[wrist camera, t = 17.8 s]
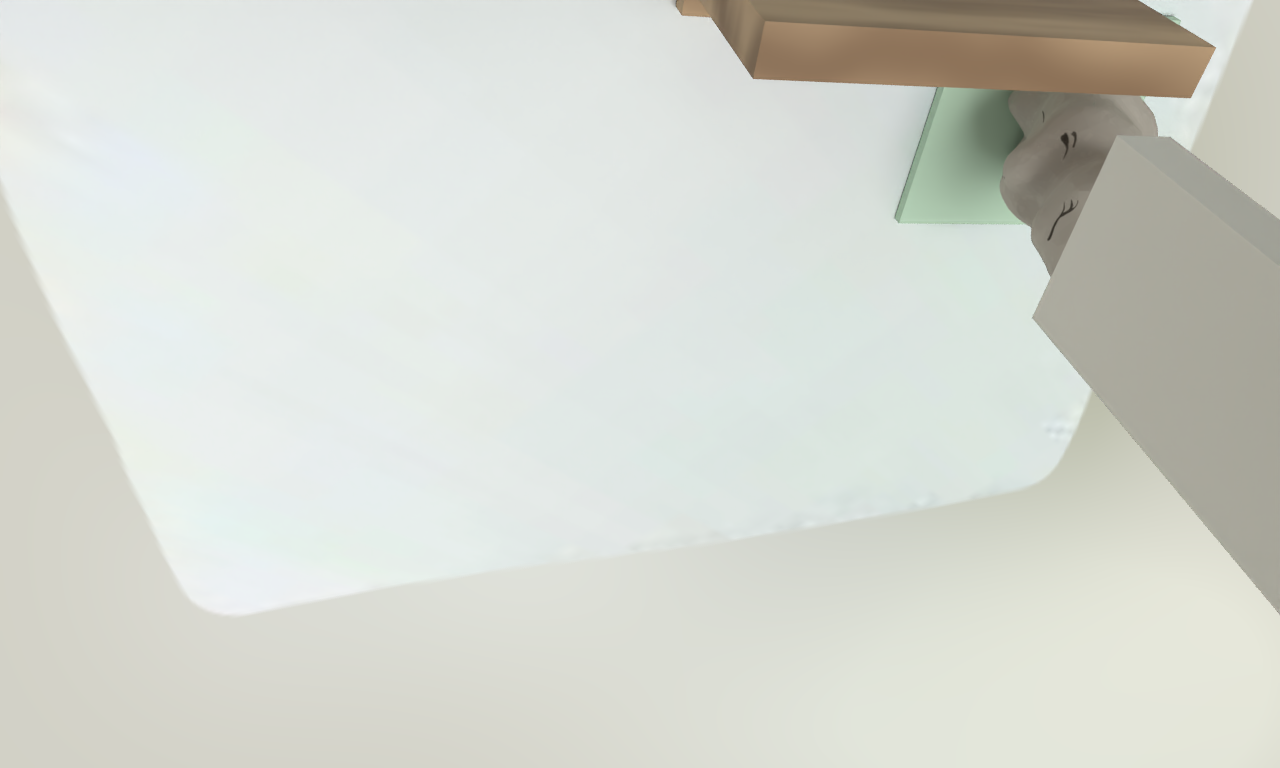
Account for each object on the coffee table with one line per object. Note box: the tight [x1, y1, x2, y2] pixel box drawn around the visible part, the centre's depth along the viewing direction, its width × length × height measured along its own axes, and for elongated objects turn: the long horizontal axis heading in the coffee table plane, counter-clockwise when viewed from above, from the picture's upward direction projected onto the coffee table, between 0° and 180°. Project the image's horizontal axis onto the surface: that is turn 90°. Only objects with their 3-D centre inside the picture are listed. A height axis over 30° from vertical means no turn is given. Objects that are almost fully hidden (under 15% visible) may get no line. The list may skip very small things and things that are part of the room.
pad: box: [895, 16, 1181, 224], centre depth 53 cm, size 12×12×1 cm
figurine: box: [1000, 90, 1158, 277], centre depth 47 cm, size 9×10×15 cm
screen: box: [676, 0, 1216, 98], centre depth 40 cm, size 6×18×13 cm, turn 83°
